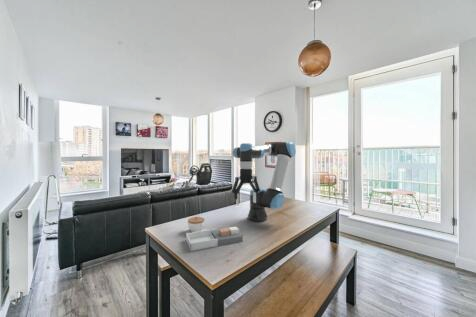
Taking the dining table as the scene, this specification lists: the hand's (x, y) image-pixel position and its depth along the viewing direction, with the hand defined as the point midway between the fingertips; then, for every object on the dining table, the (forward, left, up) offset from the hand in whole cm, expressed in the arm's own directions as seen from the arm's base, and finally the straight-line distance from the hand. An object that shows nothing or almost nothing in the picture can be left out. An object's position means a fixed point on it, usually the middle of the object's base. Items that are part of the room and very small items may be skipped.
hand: (246, 203), depth 125 cm
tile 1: (+14, 0, -17) cm, 22 cm away
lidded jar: (+27, -19, -20) cm, 39 cm away
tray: (+28, 0, -20) cm, 35 cm away
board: (+13, 0, -20) cm, 24 cm away
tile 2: (+8, 0, -17) cm, 19 cm away
